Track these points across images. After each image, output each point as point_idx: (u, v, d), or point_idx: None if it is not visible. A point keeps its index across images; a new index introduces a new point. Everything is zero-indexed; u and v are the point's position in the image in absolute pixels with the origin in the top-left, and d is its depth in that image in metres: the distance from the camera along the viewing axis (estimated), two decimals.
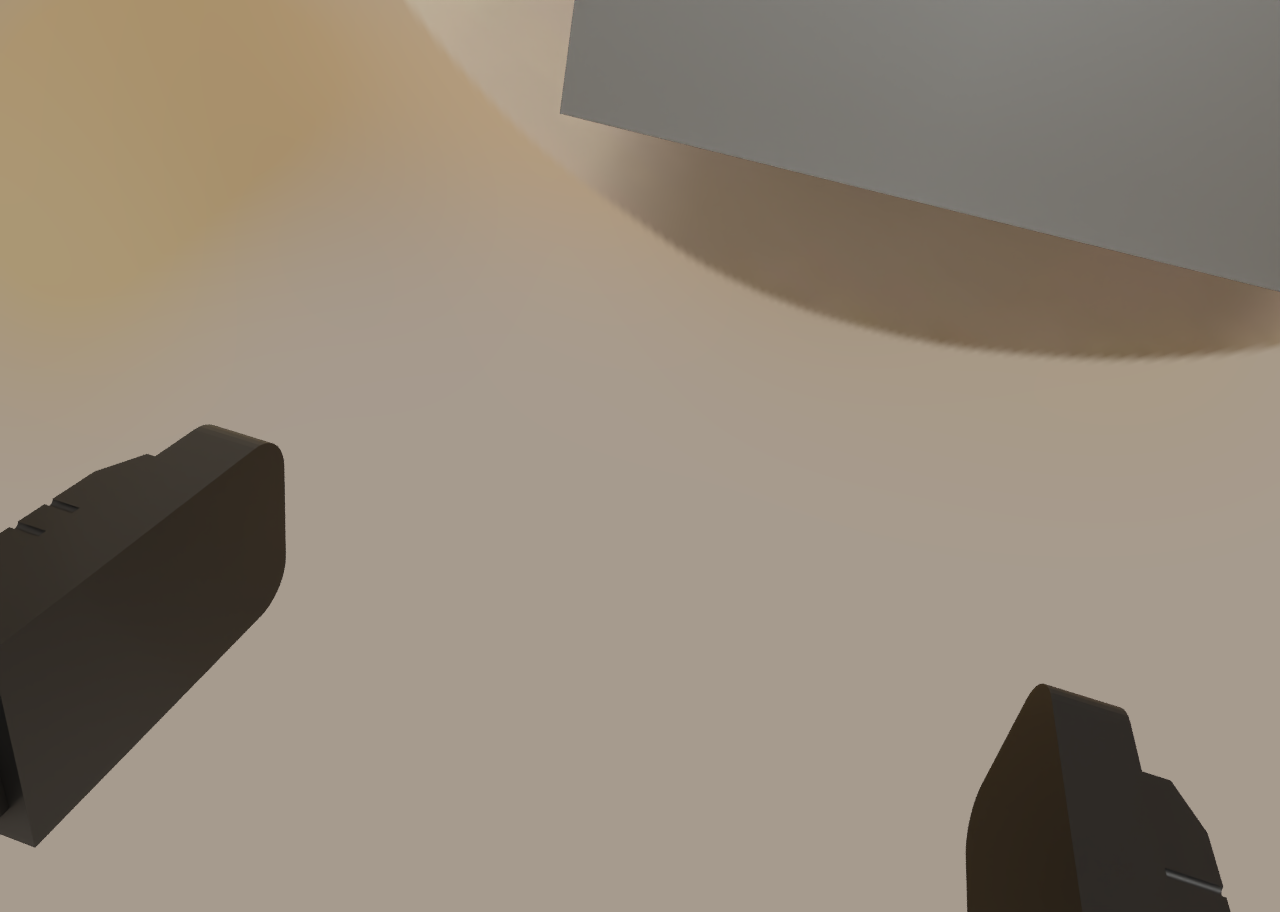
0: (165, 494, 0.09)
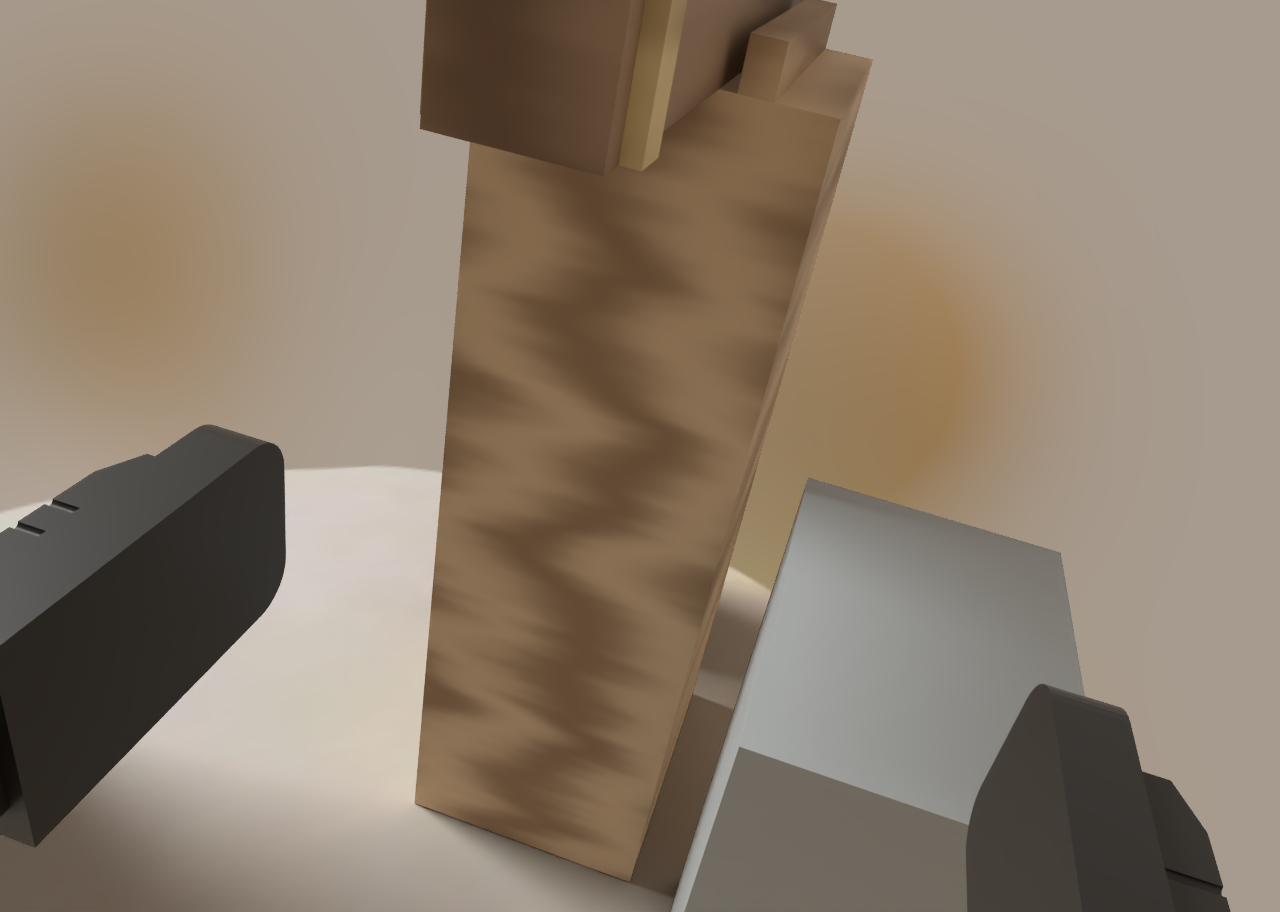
0: (165, 494, 0.09)
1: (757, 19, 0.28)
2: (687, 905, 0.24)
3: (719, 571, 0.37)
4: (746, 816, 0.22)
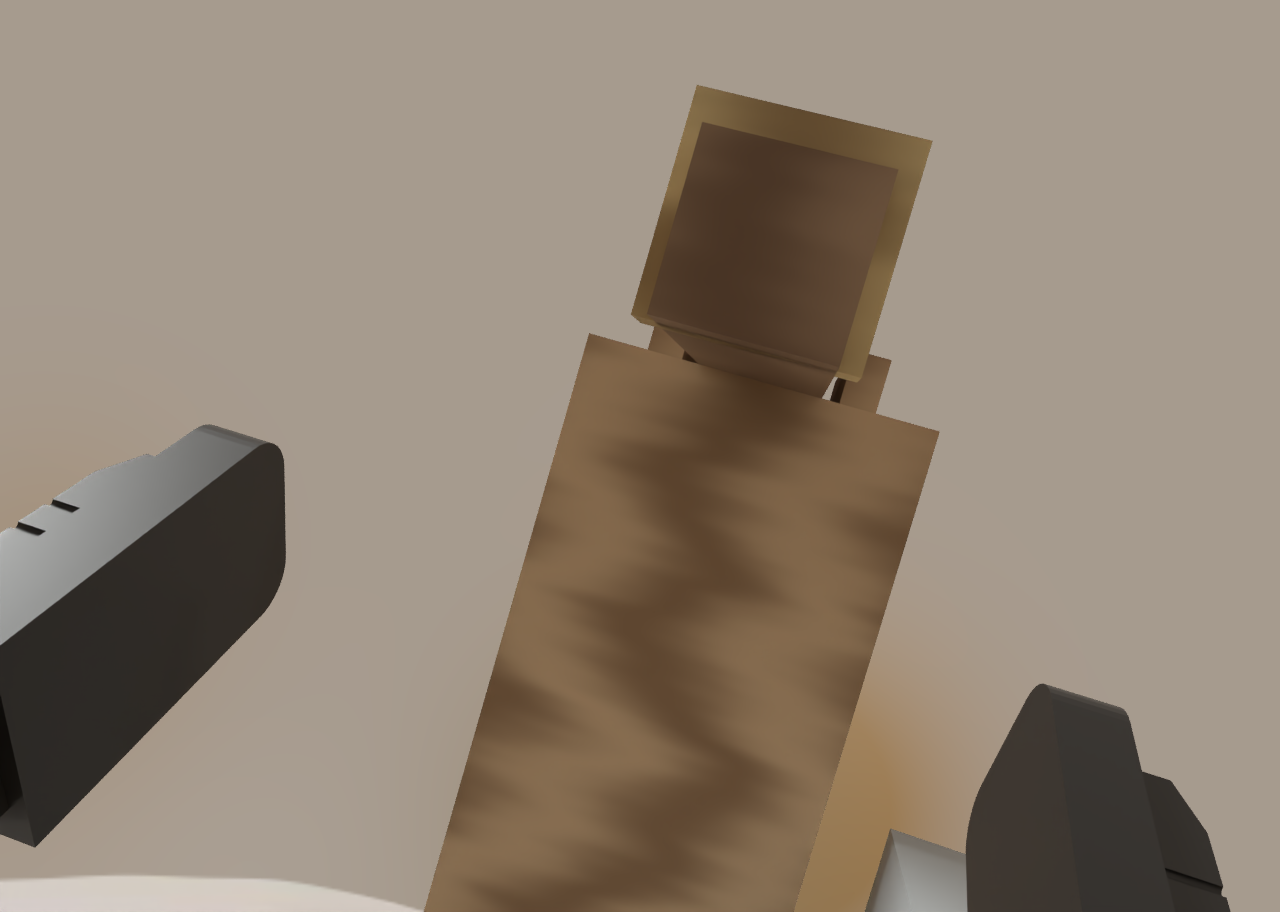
0: (165, 493, 0.09)
1: None
2: None
3: None
4: None
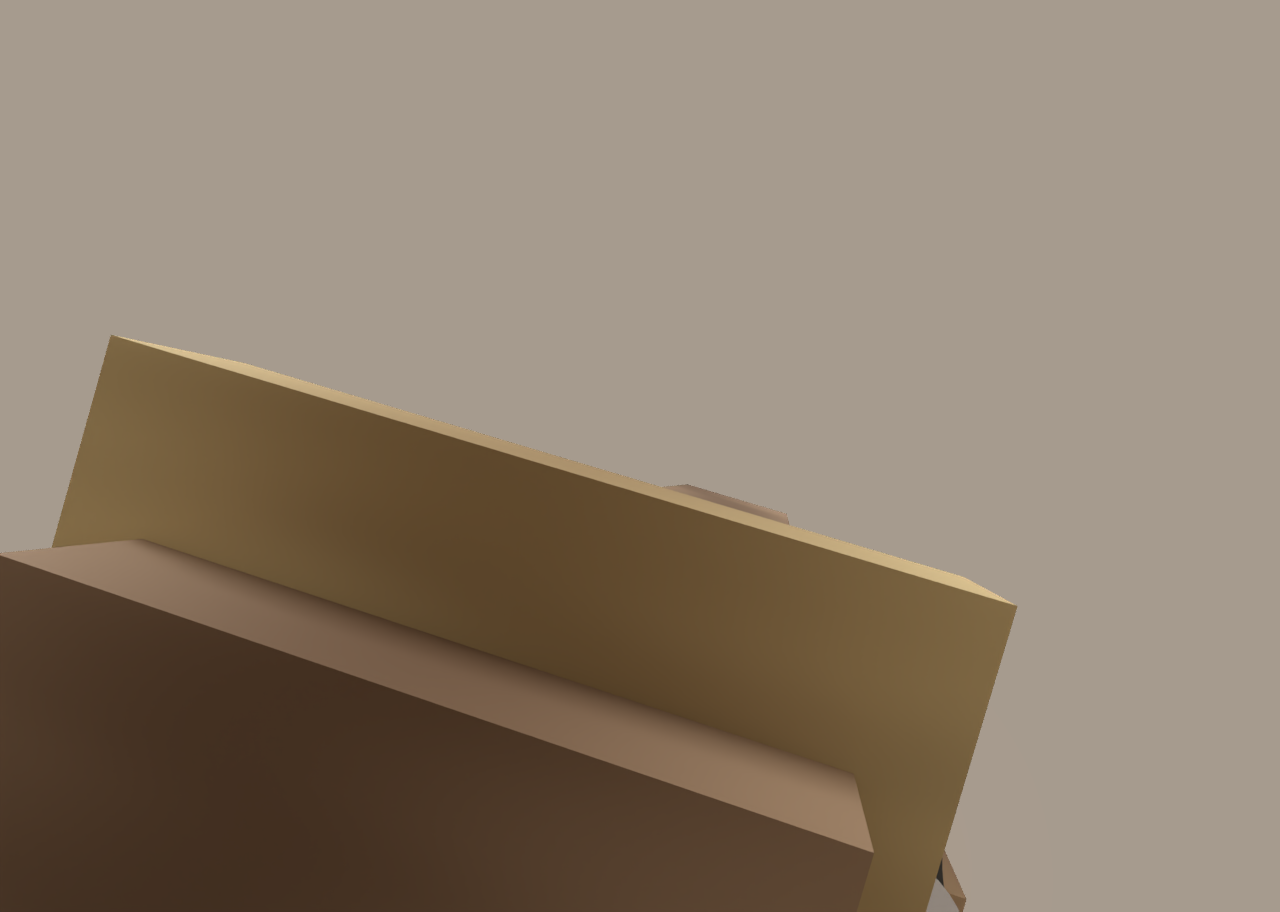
0: None
1: None
2: None
3: None
4: None
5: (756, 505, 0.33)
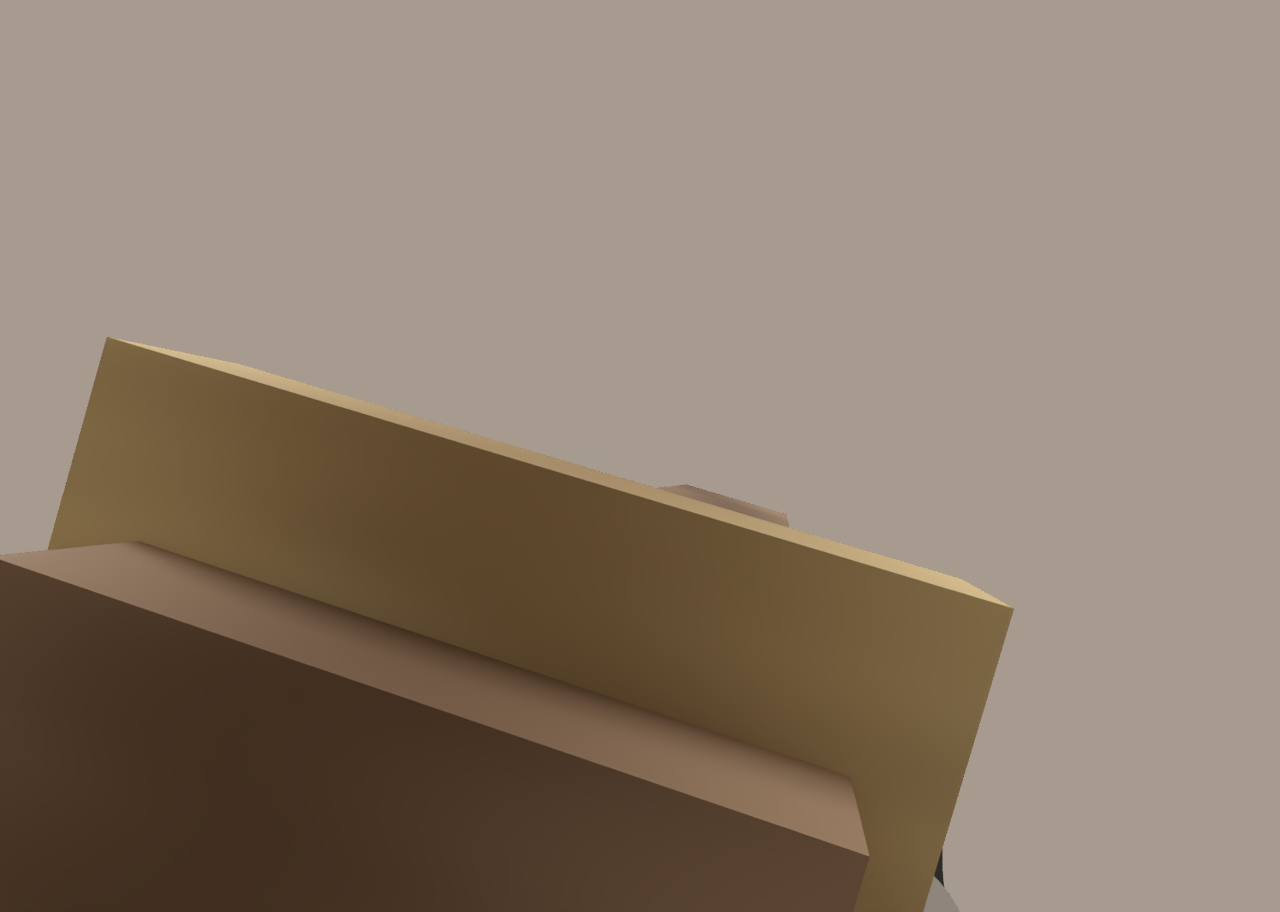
0: None
1: None
2: None
3: None
4: None
5: (755, 505, 0.33)
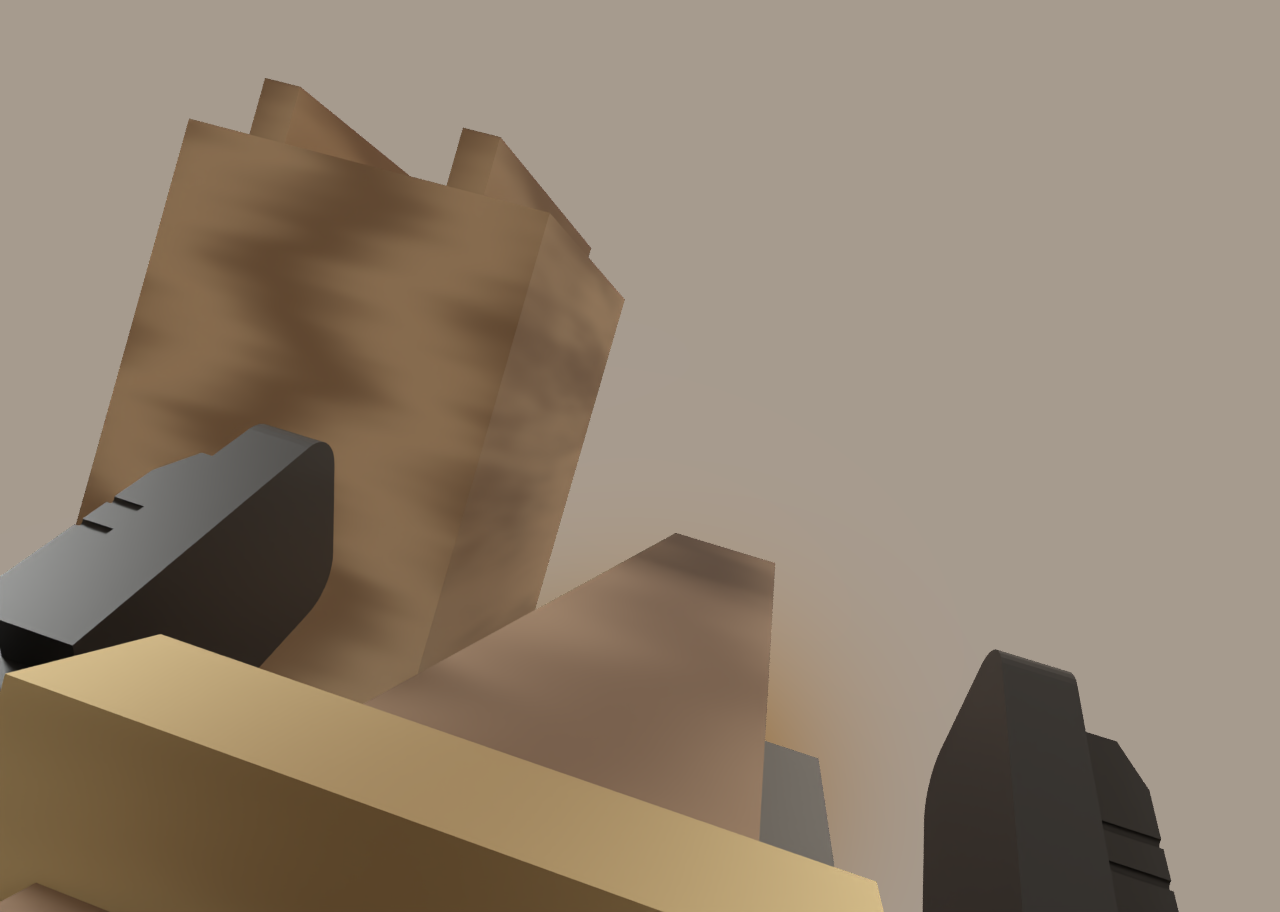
0: (227, 491, 0.09)
1: None
2: None
3: None
4: None
5: (744, 555, 0.33)
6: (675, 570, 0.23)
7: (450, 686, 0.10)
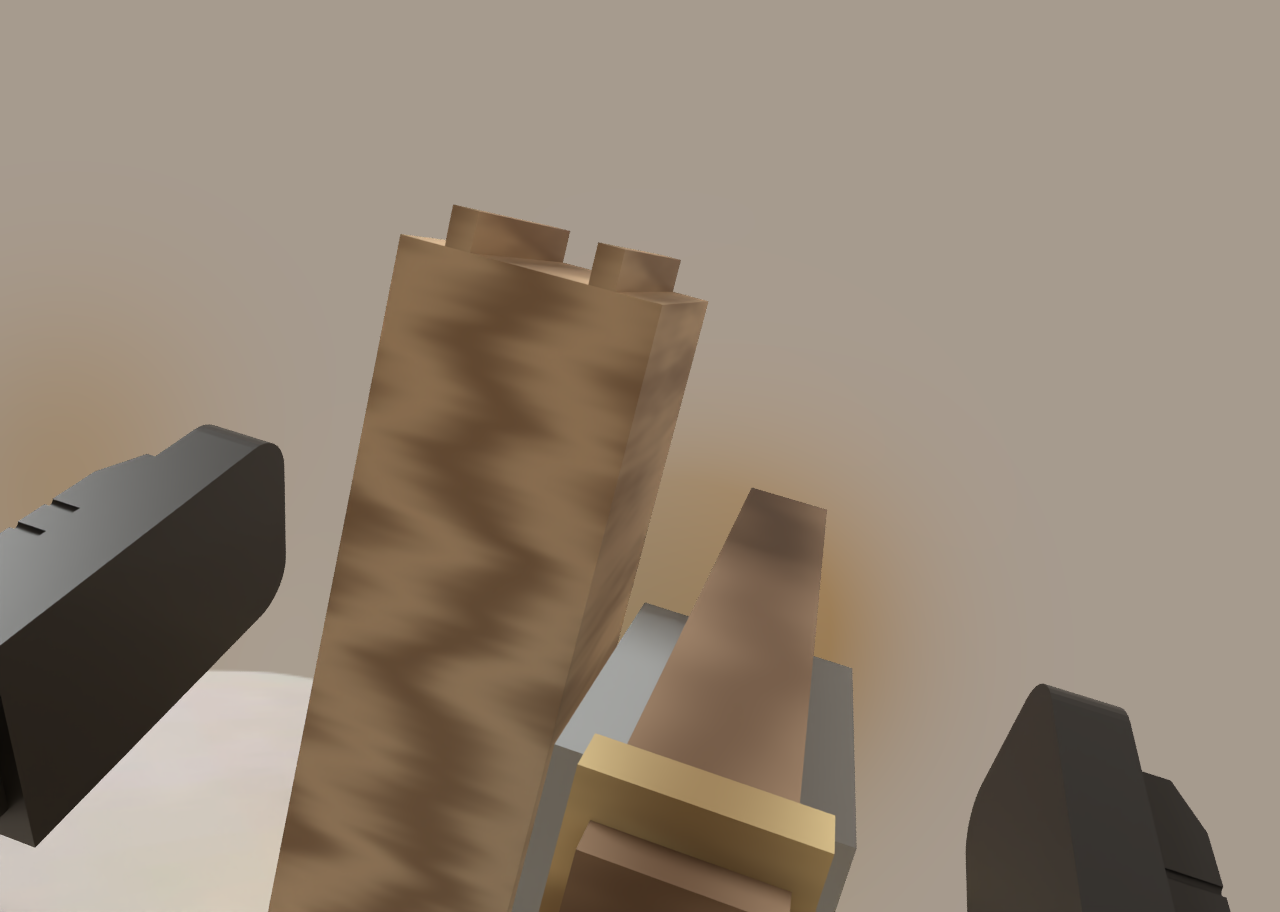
0: (165, 493, 0.09)
1: None
2: None
3: (572, 709, 0.41)
4: (560, 819, 0.26)
5: (803, 505, 0.44)
6: (755, 550, 0.35)
7: (663, 706, 0.21)
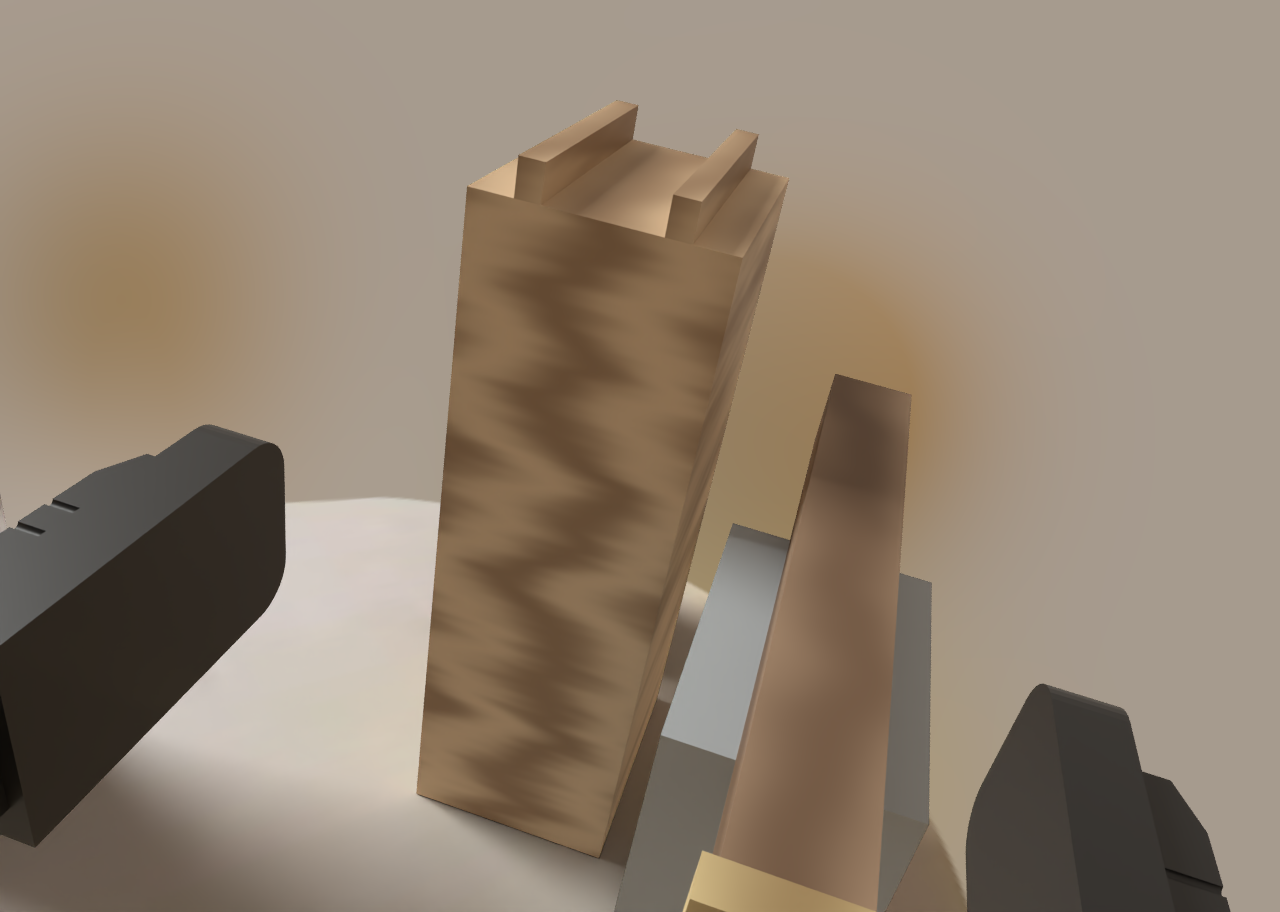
0: (165, 493, 0.09)
1: None
2: (629, 857, 0.32)
3: (668, 596, 0.44)
4: (669, 787, 0.30)
5: (888, 393, 0.44)
6: (839, 489, 0.36)
7: (758, 761, 0.24)
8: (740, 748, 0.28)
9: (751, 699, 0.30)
